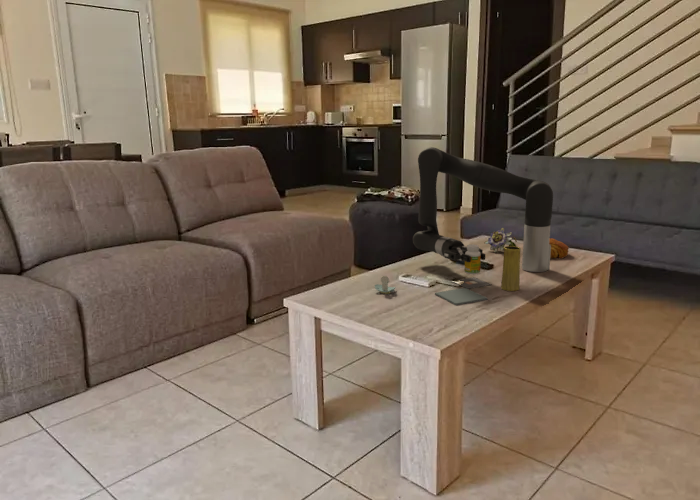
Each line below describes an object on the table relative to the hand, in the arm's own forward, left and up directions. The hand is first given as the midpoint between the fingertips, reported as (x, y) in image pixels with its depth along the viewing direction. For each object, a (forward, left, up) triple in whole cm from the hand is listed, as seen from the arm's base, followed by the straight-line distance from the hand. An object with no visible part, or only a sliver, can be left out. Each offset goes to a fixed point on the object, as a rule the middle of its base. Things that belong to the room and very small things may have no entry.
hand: (477, 258), depth 186 cm
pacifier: (+31, -8, -10) cm, 34 cm away
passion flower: (-40, -36, -10) cm, 55 cm away
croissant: (-53, -21, -10) cm, 58 cm away
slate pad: (+12, +8, -10) cm, 18 cm away
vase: (-8, +8, -10) cm, 15 cm away
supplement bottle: (0, -3, -6) cm, 7 cm away
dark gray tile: (0, -3, -10) cm, 10 cm away
